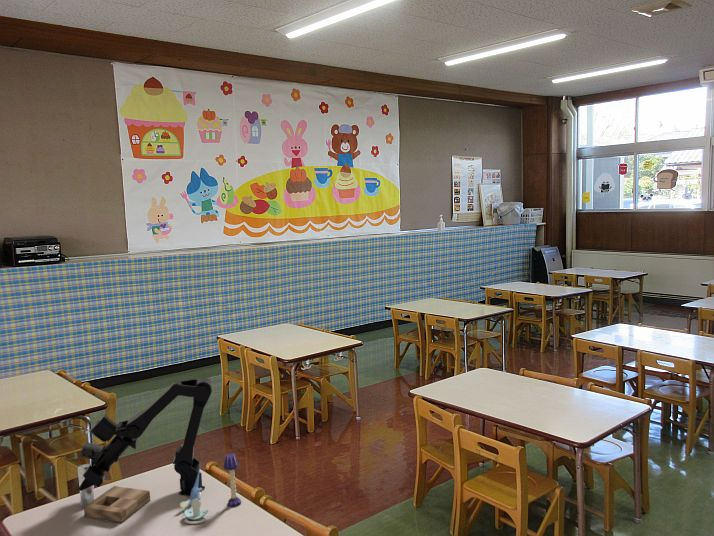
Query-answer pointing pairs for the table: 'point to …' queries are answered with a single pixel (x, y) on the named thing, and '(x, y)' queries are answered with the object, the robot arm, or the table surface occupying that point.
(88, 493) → the aluminium peg
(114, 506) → the pocket board
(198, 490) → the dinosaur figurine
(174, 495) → the table surface
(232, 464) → the toy lamp
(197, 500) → the pacifier
